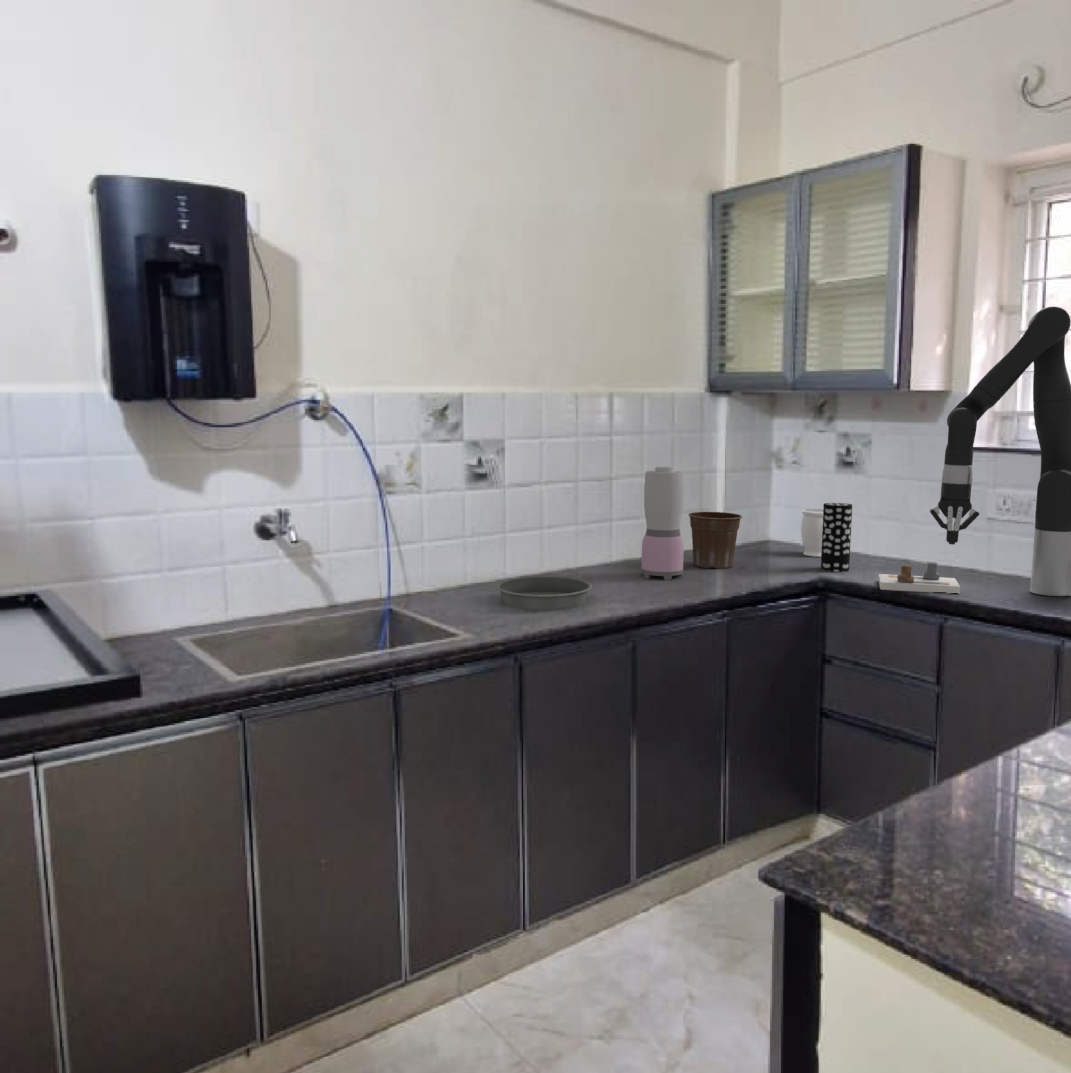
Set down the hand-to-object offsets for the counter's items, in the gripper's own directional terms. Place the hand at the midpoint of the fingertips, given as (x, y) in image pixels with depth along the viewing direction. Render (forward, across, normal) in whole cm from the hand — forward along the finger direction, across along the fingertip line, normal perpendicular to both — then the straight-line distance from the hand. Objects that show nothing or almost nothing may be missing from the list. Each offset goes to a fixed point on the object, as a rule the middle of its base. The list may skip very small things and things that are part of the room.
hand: (951, 544), depth 262 cm
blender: (+13, +78, +8) cm, 80 cm away
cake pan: (+14, +101, +53) cm, 115 cm away
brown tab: (+10, +12, +7) cm, 17 cm away
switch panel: (+12, +8, +4) cm, 15 cm away
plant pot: (+13, +66, -13) cm, 69 cm away
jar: (+13, +36, -44) cm, 59 cm away
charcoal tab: (+10, +5, 0) cm, 11 cm away
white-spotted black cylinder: (+13, +30, -18) cm, 37 cm away
